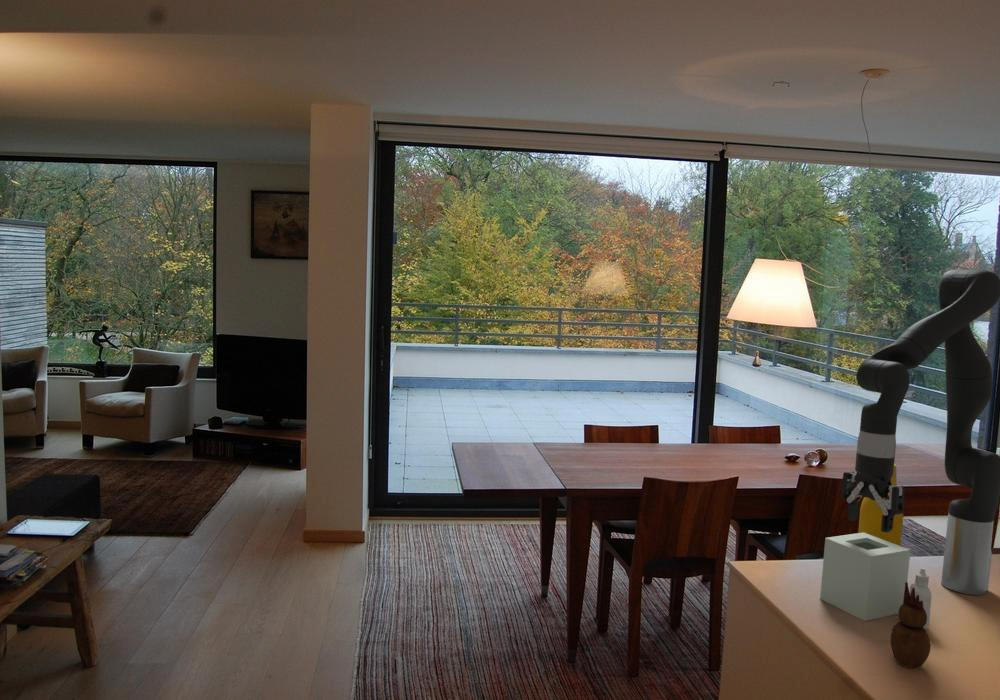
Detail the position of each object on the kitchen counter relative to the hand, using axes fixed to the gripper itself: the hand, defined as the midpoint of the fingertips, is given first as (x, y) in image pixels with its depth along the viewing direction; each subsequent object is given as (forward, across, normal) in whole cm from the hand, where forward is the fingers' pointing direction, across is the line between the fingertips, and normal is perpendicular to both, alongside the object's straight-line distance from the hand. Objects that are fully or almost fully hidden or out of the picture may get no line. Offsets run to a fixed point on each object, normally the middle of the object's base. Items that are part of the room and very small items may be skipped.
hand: (868, 525), depth 173 cm
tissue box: (+18, 0, 0) cm, 18 cm away
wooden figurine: (+18, -22, +14) cm, 32 cm away
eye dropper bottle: (+18, -11, -4) cm, 22 cm away
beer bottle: (+18, +8, -14) cm, 24 cm away
